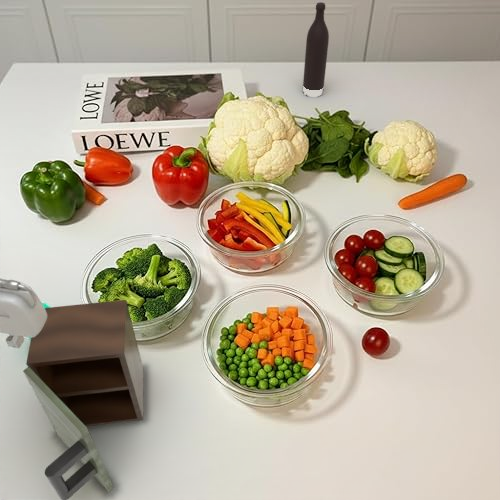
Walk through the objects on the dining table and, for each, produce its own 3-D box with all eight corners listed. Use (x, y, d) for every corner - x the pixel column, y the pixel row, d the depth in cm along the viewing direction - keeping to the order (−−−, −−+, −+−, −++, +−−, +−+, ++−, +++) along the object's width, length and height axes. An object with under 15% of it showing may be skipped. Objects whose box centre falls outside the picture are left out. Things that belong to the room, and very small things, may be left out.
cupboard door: (77, 522, 88) (41, 465, 73) (26, 461, 95) (-16, 398, 80) (113, 488, 92) (86, 427, 77) (62, 432, 99) (28, 366, 84)
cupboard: (143, 420, 101) (124, 353, 85) (61, 430, 100) (26, 363, 84) (143, 370, 109) (126, 299, 93) (67, 378, 107) (36, 308, 92)
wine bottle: (325, 90, 188) (335, 1, 167) (319, 100, 183) (328, 9, 162) (306, 86, 190) (313, -2, 169) (299, 96, 185) (306, 6, 164)
